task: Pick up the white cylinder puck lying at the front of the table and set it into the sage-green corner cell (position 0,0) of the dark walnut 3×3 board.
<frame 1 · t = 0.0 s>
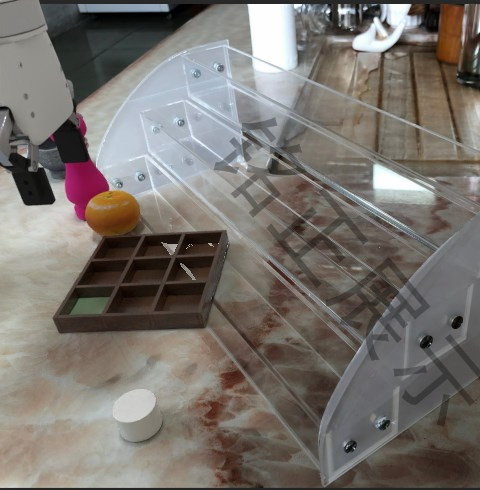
hand: (59, 181, 65), 23 cm above the worktop, tool pointing down, fingers open, 9 cm apart
fruit: (118, 231, 100), on the worktop
pink pepper grinder: (95, 212, 107), on the worktop
white cylinder puck: (141, 424, 65), on the worktop
board: (151, 284, 87), on the worktop
mortar and pestle: (70, 172, 122), on the worktop
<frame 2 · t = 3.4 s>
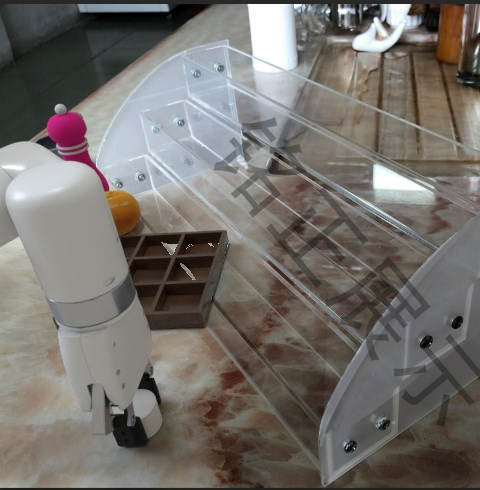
hand: (140, 422, 65), 0 cm above the worktop, tool pointing down, fingers closed on white cylinder puck, 4 cm apart
white cylinder puck: (141, 424, 65), on the worktop, touching gripper
everything else where it was.
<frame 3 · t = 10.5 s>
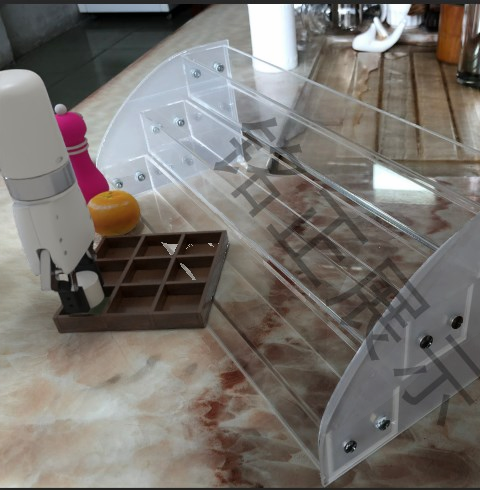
hand: (85, 297, 80), 3 cm above the worktop, tool pointing down, fingers closed on white cylinder puck, 4 cm apart
white cylinder puck: (86, 299, 80), point 3 cm above the worktop, touching gripper
everything else where it was.
when the fingers open (3 cm above the worktop, at t = 13.1 s): white cylinder puck drops 2 cm, resting on board.
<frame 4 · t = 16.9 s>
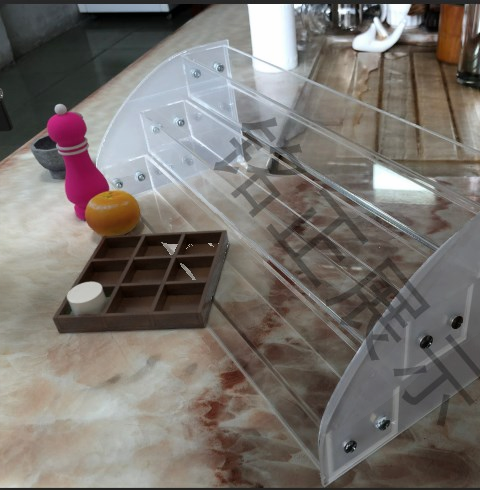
white cylinder puck: (91, 310, 81), point 1 cm above the worktop, touching board
everything else where it was.
at the end: white cylinder puck 0.0 cm from the target spot in the board, point 0.8 cm above the board's base; white cylinder puck tilted 0°; the gripper is holding nothing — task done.
